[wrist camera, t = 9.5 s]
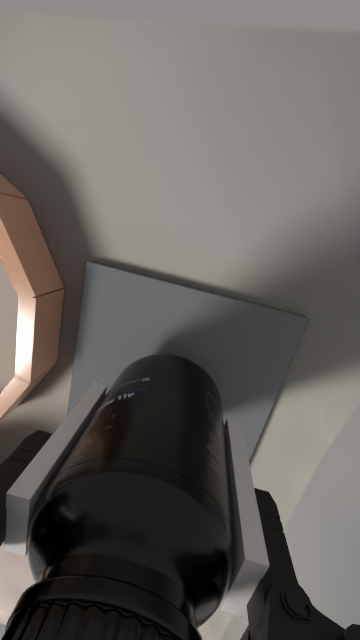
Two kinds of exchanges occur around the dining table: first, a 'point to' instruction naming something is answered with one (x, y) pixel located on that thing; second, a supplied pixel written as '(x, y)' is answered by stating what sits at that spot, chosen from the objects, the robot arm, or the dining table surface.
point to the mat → (184, 339)
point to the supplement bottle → (135, 516)
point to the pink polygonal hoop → (29, 295)
